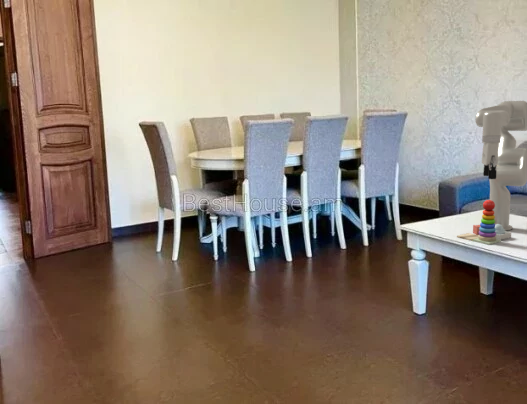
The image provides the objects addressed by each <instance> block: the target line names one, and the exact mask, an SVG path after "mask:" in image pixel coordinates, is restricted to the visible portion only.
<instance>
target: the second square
mask: <svg viewBox="0 0 527 404" xmlns="http://www.w3.org/2000/svg"><path fill="white" fill-rule="evenodd" d="M501 241H502V240H498V239H496V240H494V241H482V240H480V239H478V238H477V239H473V241H472V242H475V243H480V244H484V245H489V246H490V245H493V244H497V243H501Z"/></svg>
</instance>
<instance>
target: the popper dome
mask: <svg viewBox="0 0 527 404" xmlns="http://www.w3.org/2000/svg"><path fill="white" fill-rule="evenodd" d="M494 228H495V229H496V230H495V232H496V234H498V235H501V234H505V229H503V226H502V225H500V224H495V227H494Z"/></svg>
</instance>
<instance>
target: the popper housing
mask: <svg viewBox="0 0 527 404" xmlns="http://www.w3.org/2000/svg"><path fill="white" fill-rule="evenodd" d="M511 238H512V232H511V231H508V230H507V231H505V234H501V235H498V234H496V239H498V240H501V241H505V240H508V239H511Z"/></svg>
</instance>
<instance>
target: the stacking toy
mask: <svg viewBox="0 0 527 404" xmlns="http://www.w3.org/2000/svg"><path fill="white" fill-rule="evenodd" d="M482 207H483V210H482V215H481V220H480V224H479V225H480V226H481V227H480V228H479V230H480V231H479V235H478V239H480V240H482V241H494V240H496V232H495V230H496V229H495V228H494V227H495V224H494V223H495V220H494V219H495V216H494V211H493V209H494V207H495V203H494V202H493V201H492V200H490V199H485V201H483V204H482Z"/></svg>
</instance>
